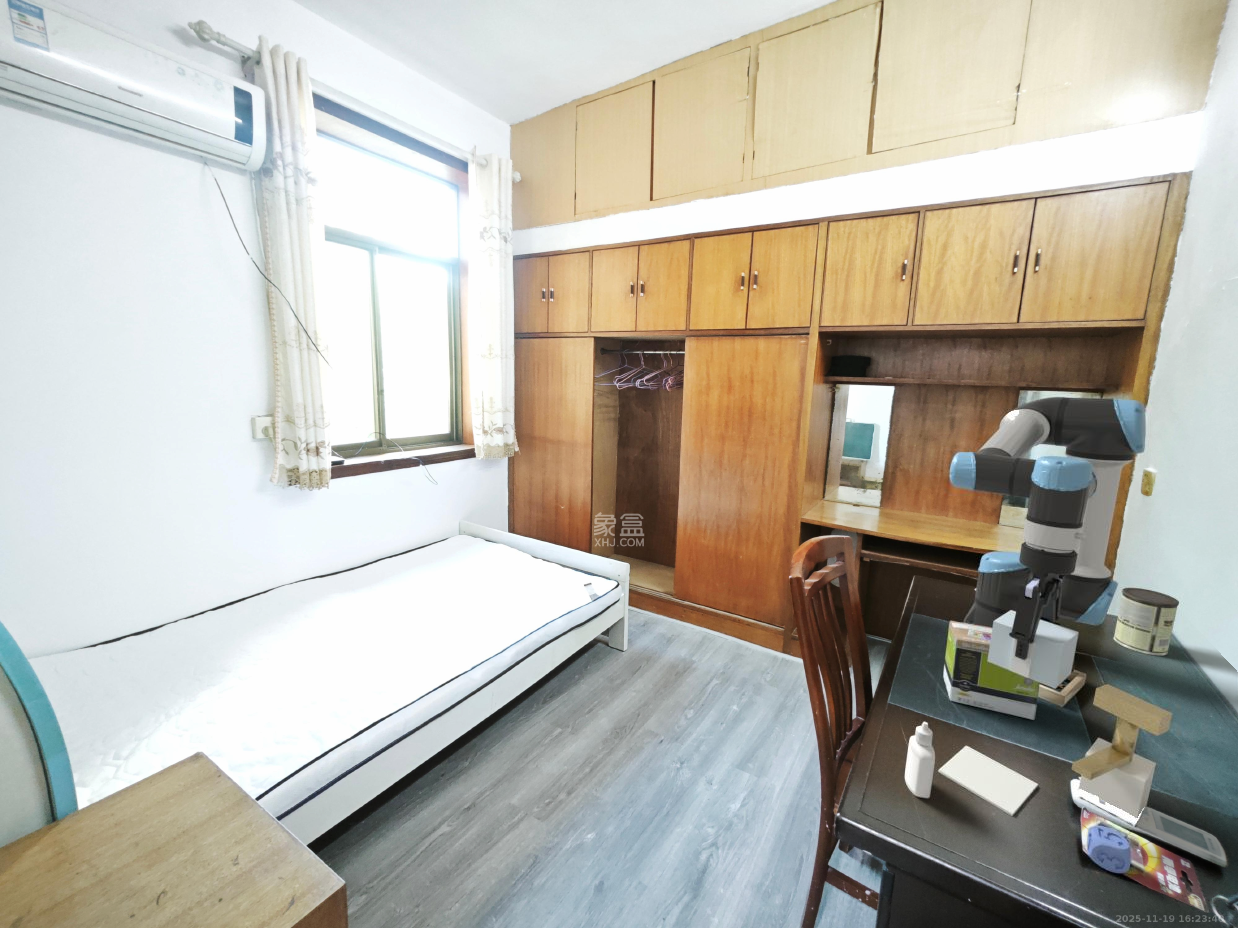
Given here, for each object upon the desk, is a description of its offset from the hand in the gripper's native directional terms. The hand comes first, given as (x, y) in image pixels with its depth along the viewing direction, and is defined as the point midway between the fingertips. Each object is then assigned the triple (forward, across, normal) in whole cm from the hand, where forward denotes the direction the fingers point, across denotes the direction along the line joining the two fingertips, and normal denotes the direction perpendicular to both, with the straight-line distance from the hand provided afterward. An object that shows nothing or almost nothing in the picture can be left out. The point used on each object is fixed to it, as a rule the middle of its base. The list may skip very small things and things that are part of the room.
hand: (1029, 665), depth 93 cm
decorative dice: (+18, -15, -16) cm, 28 cm away
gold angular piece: (+9, -5, -12) cm, 16 cm away
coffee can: (+18, +75, -3) cm, 77 cm away
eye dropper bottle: (+17, -24, +6) cm, 31 cm away
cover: (0, 0, 0) cm, 0 cm away
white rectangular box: (+17, 0, -14) cm, 22 cm away
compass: (+18, +34, +4) cm, 39 cm away
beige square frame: (+18, +32, +7) cm, 37 cm away
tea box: (+18, +14, +10) cm, 25 cm away
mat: (+17, -12, 0) cm, 21 cm away
